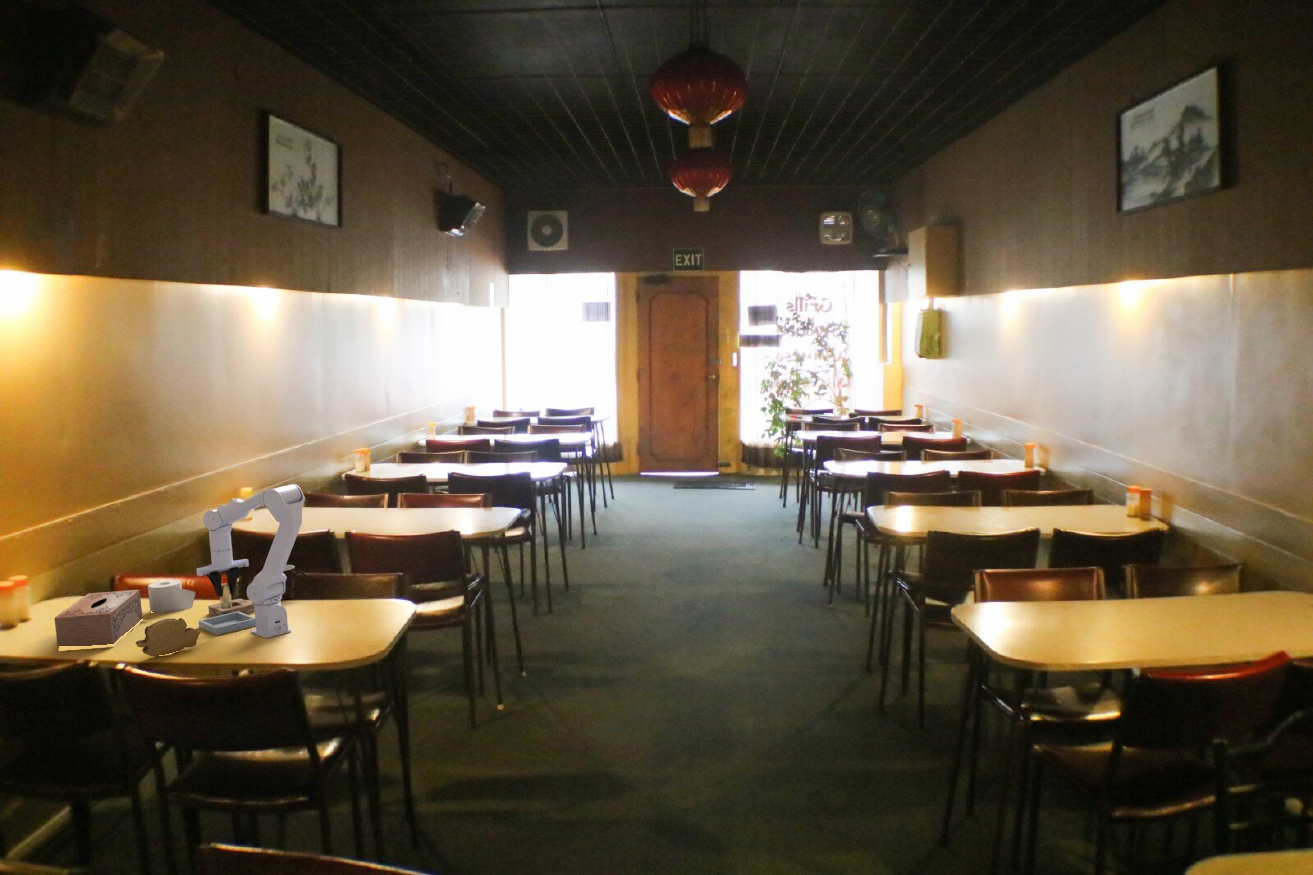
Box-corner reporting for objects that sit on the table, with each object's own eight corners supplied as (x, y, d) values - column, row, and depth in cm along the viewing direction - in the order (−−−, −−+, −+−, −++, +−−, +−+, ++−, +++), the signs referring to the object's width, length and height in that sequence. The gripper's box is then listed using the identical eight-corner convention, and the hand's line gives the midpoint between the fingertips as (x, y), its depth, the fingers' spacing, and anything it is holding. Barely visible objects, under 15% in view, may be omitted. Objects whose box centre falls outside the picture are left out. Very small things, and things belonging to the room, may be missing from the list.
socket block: (255, 613, 323) (254, 604, 323) (223, 621, 316) (222, 611, 316) (241, 607, 330) (240, 598, 330) (209, 615, 323) (208, 605, 323)
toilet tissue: (198, 609, 331) (195, 582, 330) (151, 616, 325) (149, 589, 324) (194, 602, 339) (192, 576, 338) (149, 609, 332) (146, 583, 331)
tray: (257, 626, 309) (256, 618, 309) (216, 636, 301) (215, 628, 301) (239, 619, 318) (238, 611, 317) (199, 629, 309) (198, 620, 309)
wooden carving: (194, 644, 294) (191, 610, 293) (202, 648, 291) (199, 612, 290) (134, 661, 282) (130, 624, 281) (141, 664, 279) (138, 627, 278)
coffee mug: (262, 600, 338) (260, 570, 337) (283, 593, 345) (281, 564, 344) (289, 604, 332) (286, 573, 331) (309, 597, 340) (307, 567, 339)
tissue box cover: (113, 648, 295) (110, 613, 294) (58, 652, 293) (54, 617, 291) (142, 621, 320) (139, 589, 319) (92, 625, 318) (88, 593, 317)
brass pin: (233, 607, 309) (231, 584, 308) (223, 609, 307) (221, 586, 306) (229, 605, 311) (227, 582, 310) (219, 608, 309) (217, 584, 308)
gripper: (239, 543, 314) (243, 587, 316) (190, 552, 304) (194, 598, 306) (250, 546, 310) (254, 591, 311) (200, 555, 299) (204, 602, 301)
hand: (225, 594), depth 308 cm, fingers closed on brass pin, 3 cm apart
